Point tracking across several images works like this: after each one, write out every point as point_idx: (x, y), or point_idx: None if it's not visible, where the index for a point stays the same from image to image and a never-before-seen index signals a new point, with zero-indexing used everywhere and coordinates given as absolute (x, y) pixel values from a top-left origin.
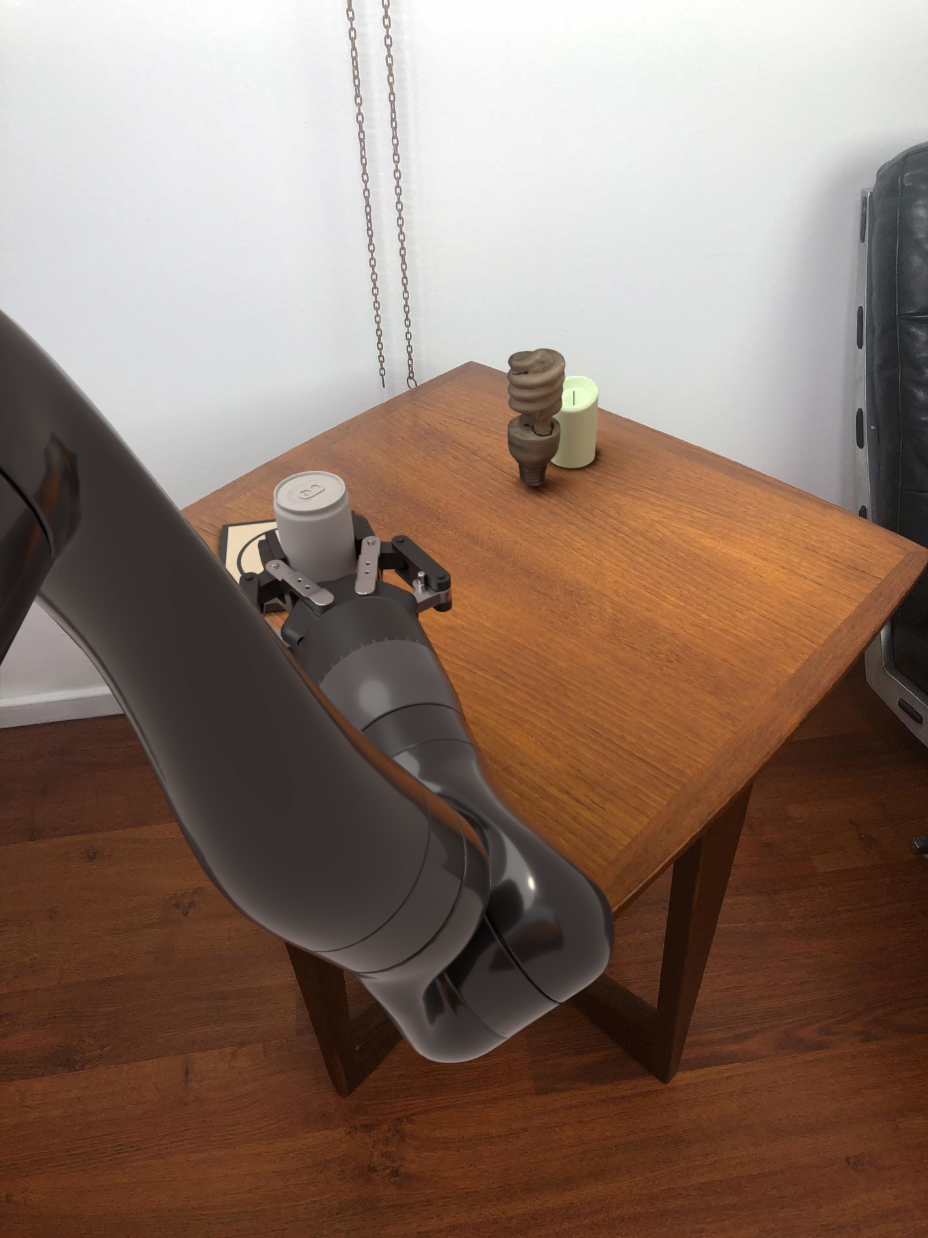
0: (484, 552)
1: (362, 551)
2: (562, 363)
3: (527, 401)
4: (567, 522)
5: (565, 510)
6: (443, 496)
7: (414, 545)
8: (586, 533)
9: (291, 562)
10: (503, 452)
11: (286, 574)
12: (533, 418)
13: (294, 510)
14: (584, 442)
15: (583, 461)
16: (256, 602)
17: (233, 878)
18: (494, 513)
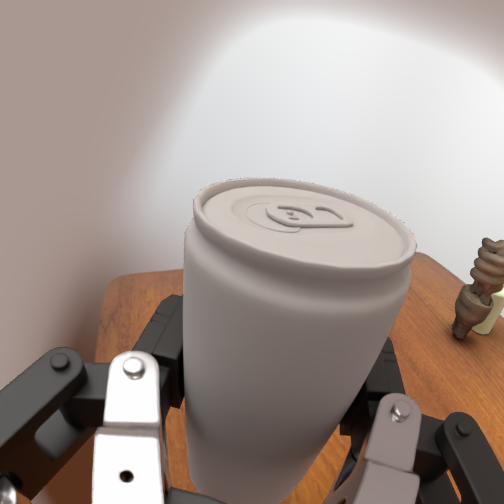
0: (419, 380)
1: (373, 437)
2: None
3: (488, 274)
4: (475, 374)
5: (474, 363)
6: (397, 322)
7: (490, 454)
8: (486, 387)
9: (185, 378)
10: (438, 306)
11: (132, 414)
12: (481, 289)
13: (220, 235)
14: (493, 319)
15: (486, 331)
16: (4, 441)
17: None
18: (430, 349)
